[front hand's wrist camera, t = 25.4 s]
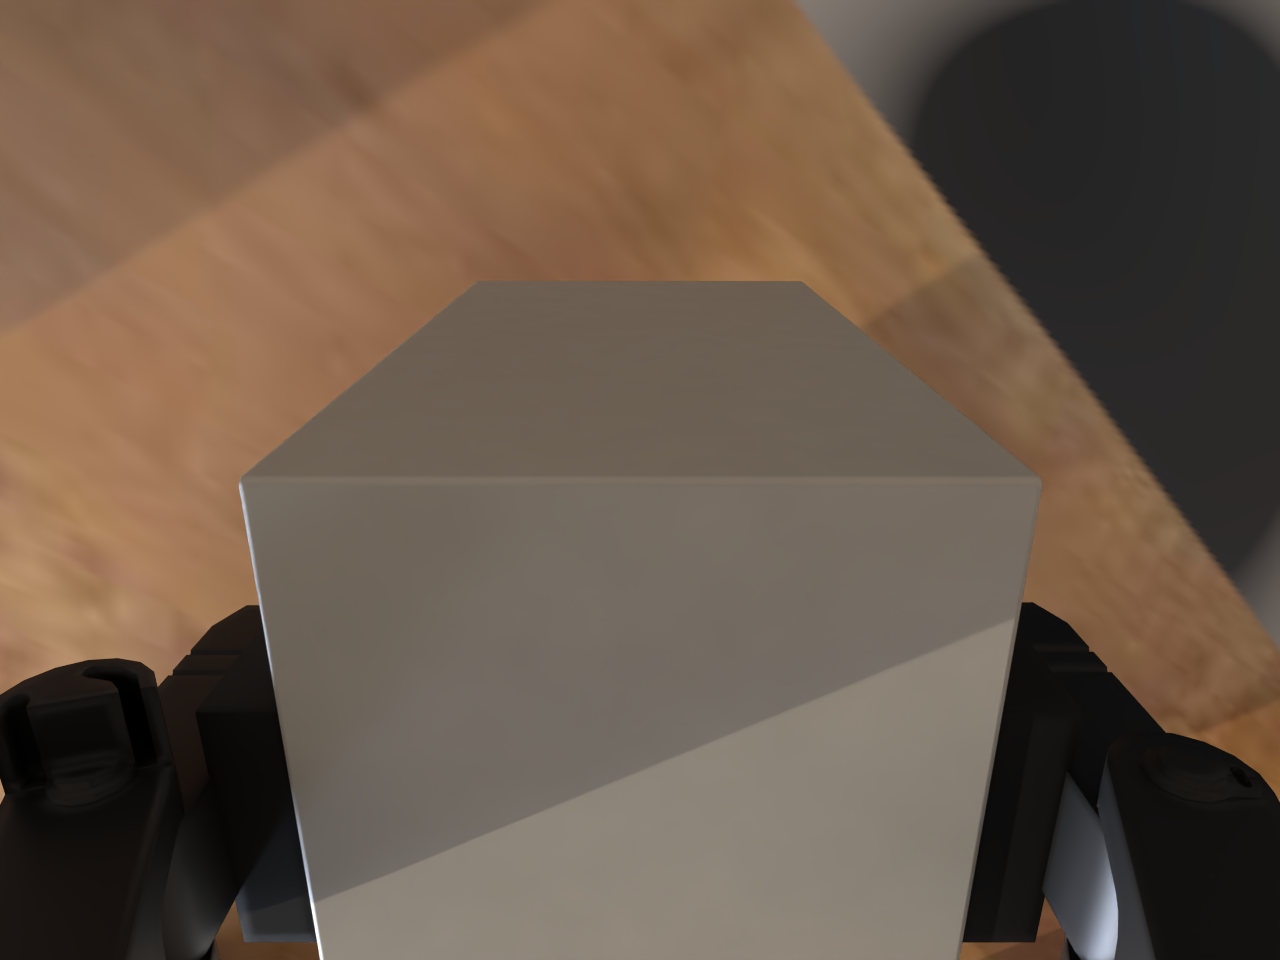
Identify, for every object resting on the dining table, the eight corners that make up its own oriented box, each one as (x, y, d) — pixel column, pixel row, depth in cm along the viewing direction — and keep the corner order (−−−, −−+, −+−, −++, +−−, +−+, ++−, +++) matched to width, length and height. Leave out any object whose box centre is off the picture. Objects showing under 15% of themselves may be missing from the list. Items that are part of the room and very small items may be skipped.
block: (782, 602, 19) (938, 1096, 9) (496, 602, 19) (341, 1097, 9) (803, 280, 17) (1047, 478, 7) (475, 280, 17) (234, 478, 7)
